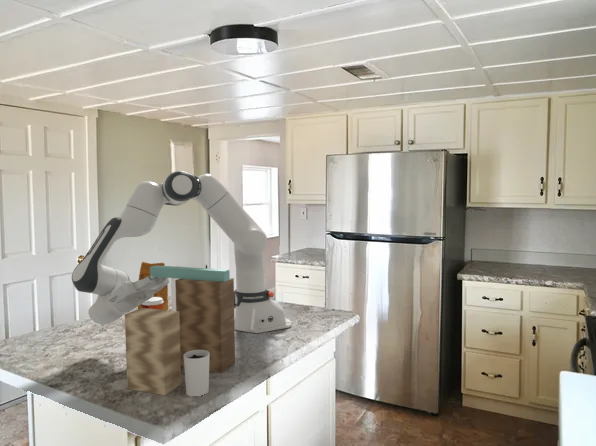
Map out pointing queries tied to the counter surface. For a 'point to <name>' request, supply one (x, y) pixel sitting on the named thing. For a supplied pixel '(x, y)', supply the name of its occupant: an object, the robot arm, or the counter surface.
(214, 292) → the post
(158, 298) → the paper cup
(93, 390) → the counter surface
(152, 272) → the rail
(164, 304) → the coffee package
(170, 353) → the zigzag patterned block
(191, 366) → the white coffee cup
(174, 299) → the milk
